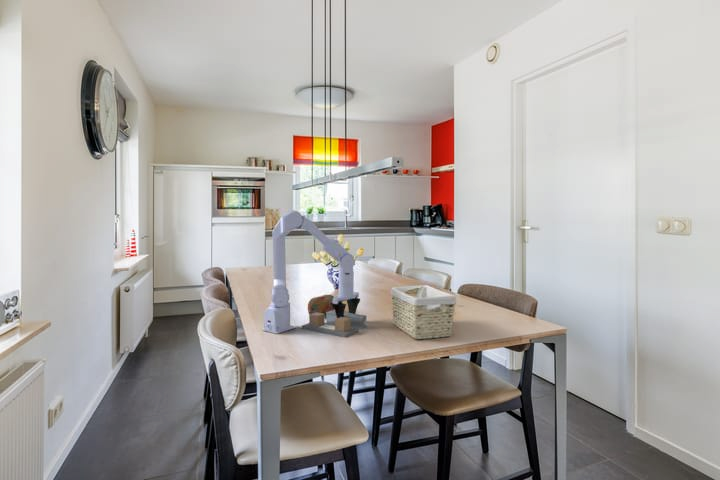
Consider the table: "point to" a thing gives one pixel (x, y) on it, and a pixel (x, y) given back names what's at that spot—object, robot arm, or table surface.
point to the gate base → (330, 325)
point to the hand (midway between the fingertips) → (346, 318)
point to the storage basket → (423, 311)
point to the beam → (355, 319)
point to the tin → (321, 304)
